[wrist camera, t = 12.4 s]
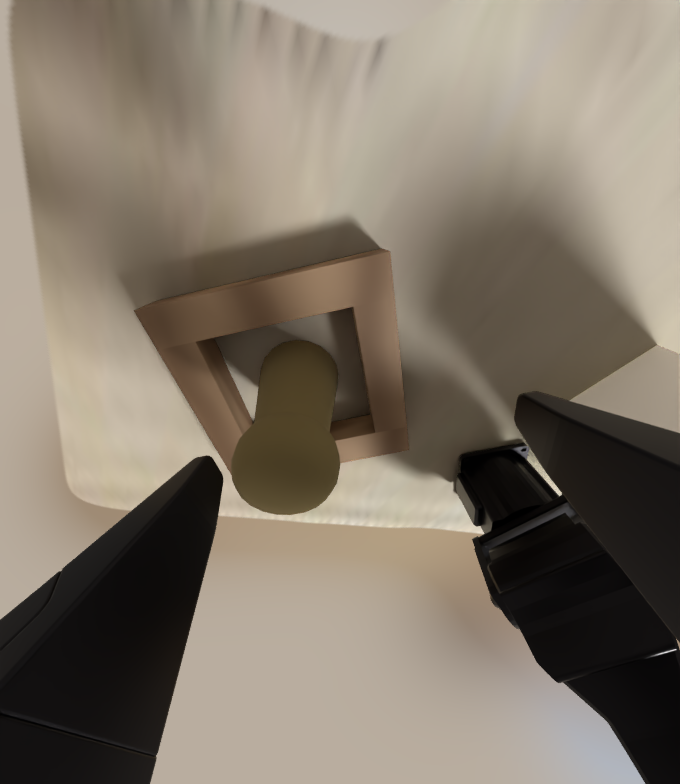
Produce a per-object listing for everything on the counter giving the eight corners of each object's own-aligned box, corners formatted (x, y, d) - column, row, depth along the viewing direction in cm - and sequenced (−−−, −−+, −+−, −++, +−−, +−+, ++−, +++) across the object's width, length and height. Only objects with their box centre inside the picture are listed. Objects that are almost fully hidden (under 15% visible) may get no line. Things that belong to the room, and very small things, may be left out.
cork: (349, 394, 22) (368, 514, 13) (282, 417, 23) (255, 545, 14) (321, 328, 19) (321, 420, 10) (245, 357, 20) (180, 467, 11)
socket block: (381, 248, 17) (390, 251, 15) (401, 430, 25) (409, 449, 23) (156, 301, 18) (133, 310, 16) (243, 461, 26) (236, 482, 23)
